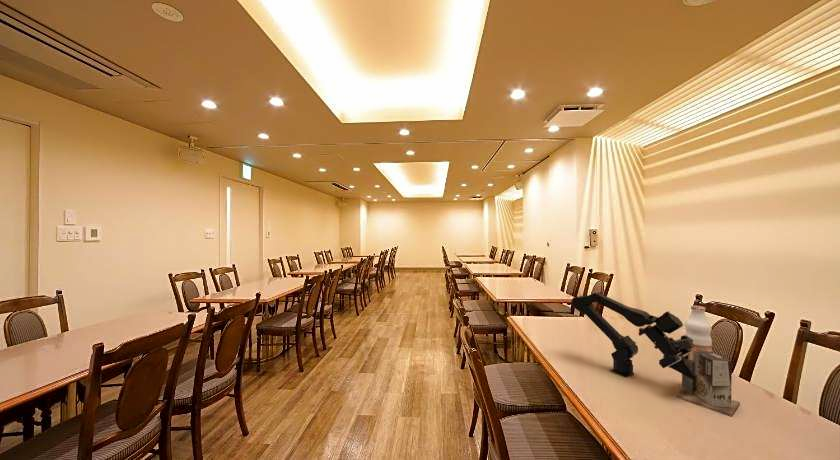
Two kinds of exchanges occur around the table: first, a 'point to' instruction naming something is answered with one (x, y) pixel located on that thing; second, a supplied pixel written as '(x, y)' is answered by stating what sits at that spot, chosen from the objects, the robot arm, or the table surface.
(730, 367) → the coffee box
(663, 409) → the table surface
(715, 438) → the table surface
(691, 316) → the fruit juice
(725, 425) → the table surface
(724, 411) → the pull board
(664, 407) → the table surface
